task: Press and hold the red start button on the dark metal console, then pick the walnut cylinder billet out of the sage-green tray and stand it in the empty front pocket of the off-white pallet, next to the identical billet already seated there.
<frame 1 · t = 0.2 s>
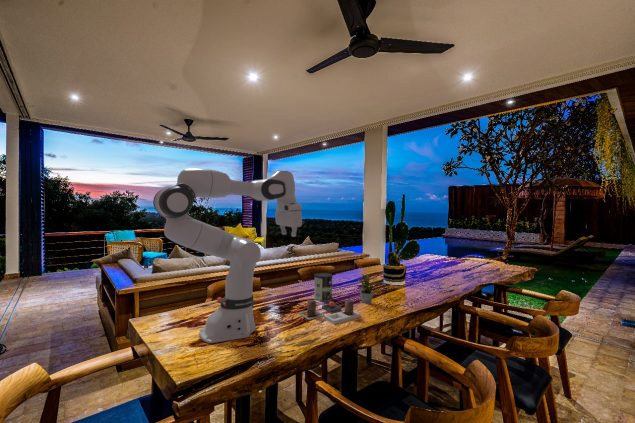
hand: (288, 235, 139), 39 cm above the table, tool pointing down, fingers open, 8 cm apart
billet: (311, 316, 141), resting on parts tray
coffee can: (323, 299, 169), on the table
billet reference: (348, 316, 140), point 1 cm above the table, touching pallet
house plant: (364, 302, 164), on the table
button housing: (331, 311, 150), on the table
pallet: (342, 320, 138), on the table
parts tray: (311, 317, 141), on the table
start button: (331, 305, 150), point 3 cm above the table, slide at 0.0 cm
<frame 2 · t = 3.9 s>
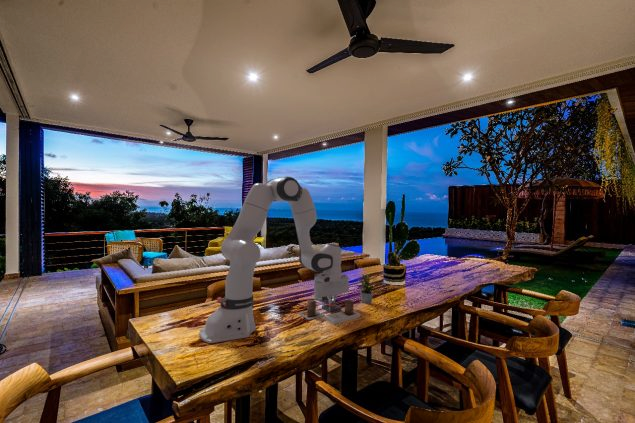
hand: (331, 303, 150), 4 cm above the table, tool pointing down, fingers closed, pressing on start button
start button: (331, 306, 150), point 3 cm above the table, slide at 0.5 cm, touching gripper
everything else where it was.
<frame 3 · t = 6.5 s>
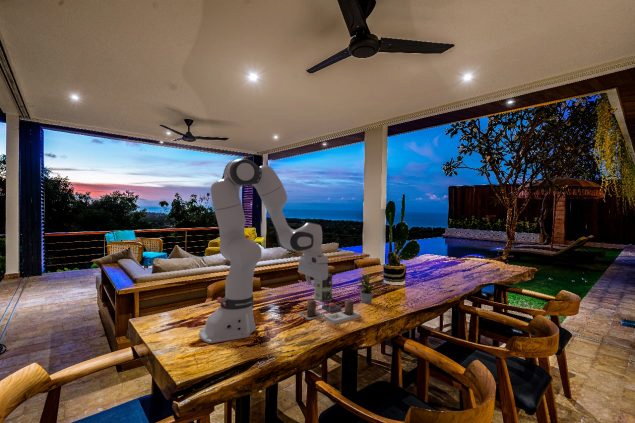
hand: (311, 285, 141), 15 cm above the table, tool pointing down, fingers open, 3 cm apart
start button: (331, 306, 150), point 2 cm above the table, slide at 0.6 cm
everything else where it was.
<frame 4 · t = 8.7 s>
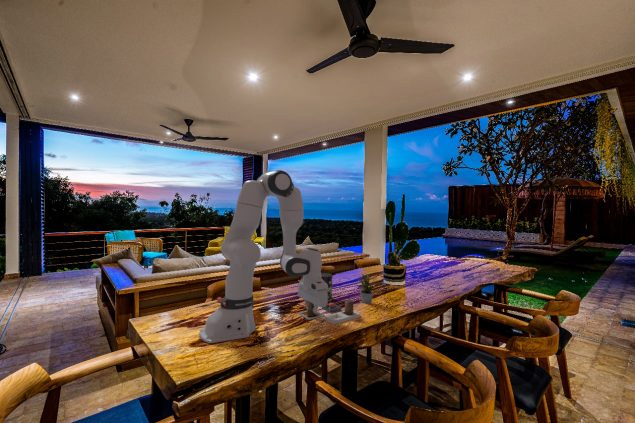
hand: (311, 310, 141), 3 cm above the table, tool pointing down, fingers closed on billet, 4 cm apart
billet: (311, 315, 141), resting on parts tray, touching gripper
everything else where it was.
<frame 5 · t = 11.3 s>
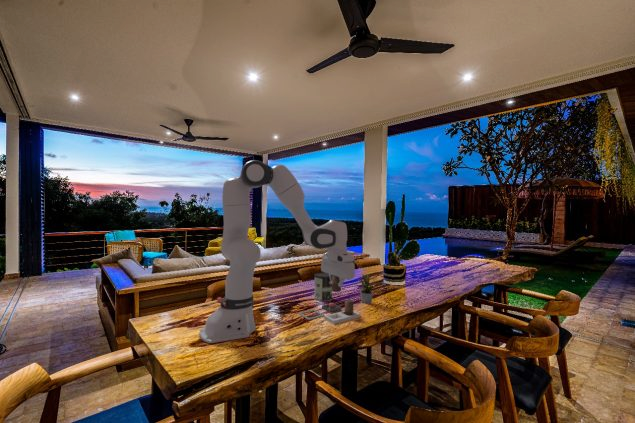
hand: (336, 285, 135), 17 cm above the table, tool pointing down, fingers closed on billet, 4 cm apart
billet: (336, 290, 136), point 14 cm above the table, touching gripper
everything else where it was.
when the fingers open (5 cm above the table, at t = 13.8 s): billet drops 1 cm, resting on pallet.
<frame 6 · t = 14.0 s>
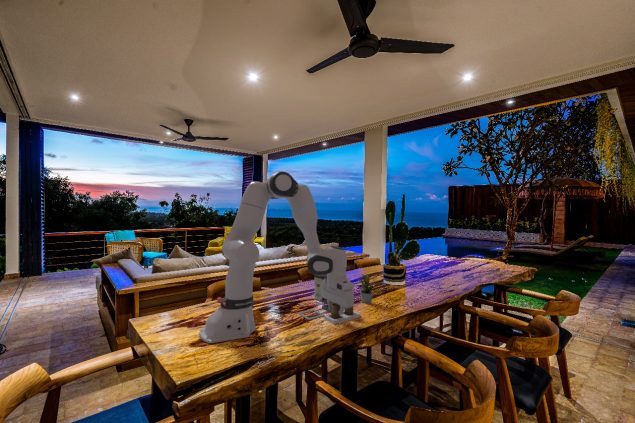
hand: (335, 311, 136), 5 cm above the table, tool pointing down, fingers open, 6 cm apart
billet: (335, 319, 136), point 1 cm above the table, touching pallet
everything else where it was.
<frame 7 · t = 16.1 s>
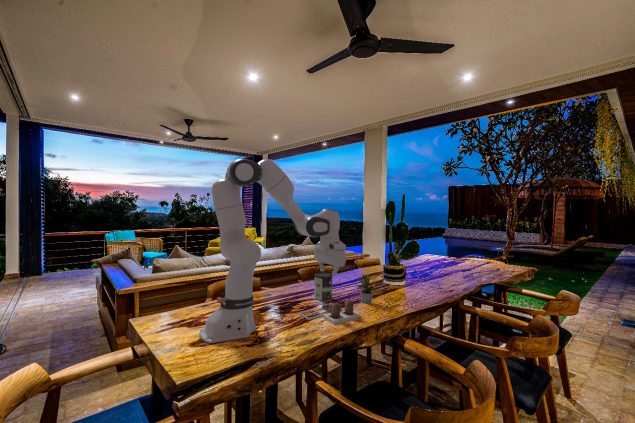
hand: (328, 273, 139), 22 cm above the table, tool pointing down, fingers open, 8 cm apart
nothing on the table moved.
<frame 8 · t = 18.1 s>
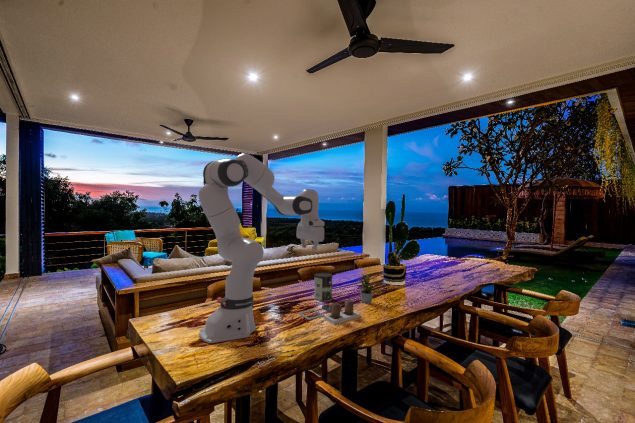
hand: (309, 248, 150), 31 cm above the table, tool pointing down, fingers open, 8 cm apart
nothing on the table moved.
at the end: billet 0.1 cm from the target spot on the pallet, point 1.1 cm above the pallet's base; billet tilted 2°; the gripper is holding nothing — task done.
